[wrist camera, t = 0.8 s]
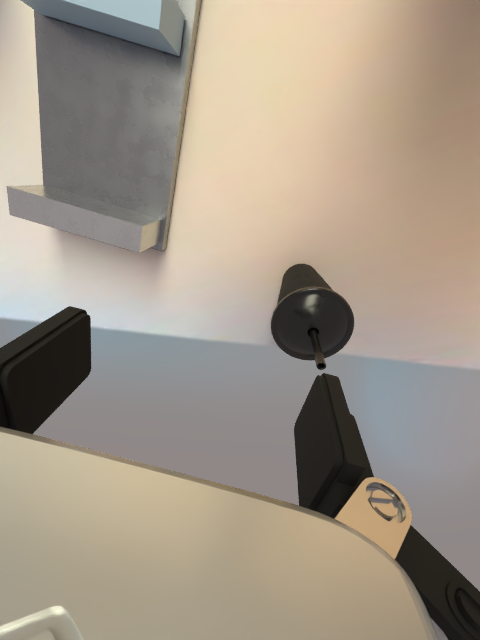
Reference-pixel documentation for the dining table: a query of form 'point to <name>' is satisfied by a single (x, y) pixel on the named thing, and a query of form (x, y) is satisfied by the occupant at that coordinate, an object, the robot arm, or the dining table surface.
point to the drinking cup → (310, 317)
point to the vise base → (108, 133)
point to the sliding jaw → (122, 19)
